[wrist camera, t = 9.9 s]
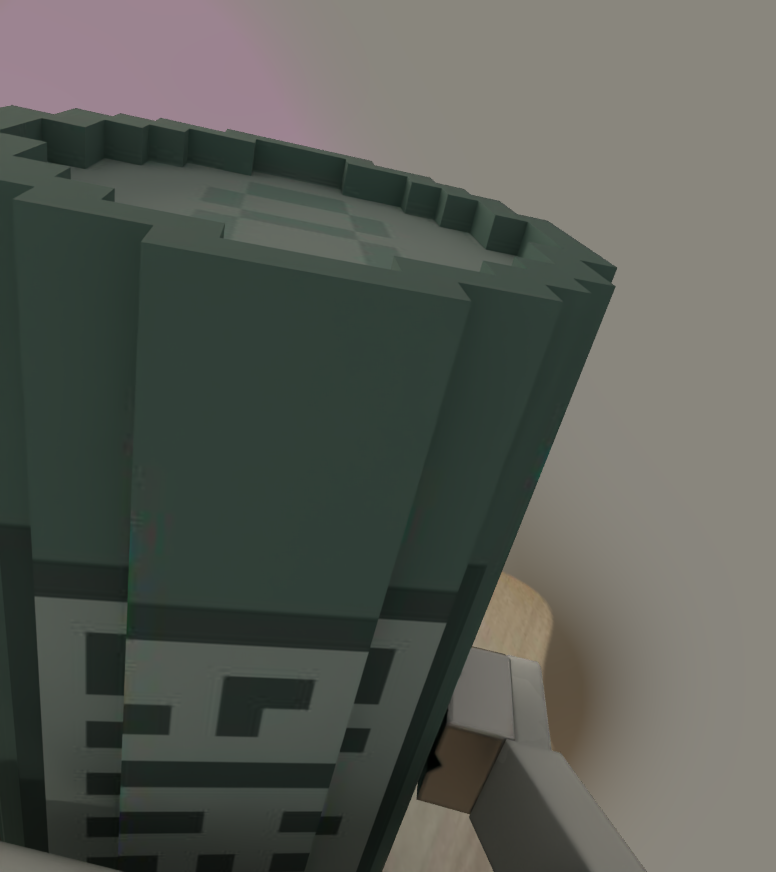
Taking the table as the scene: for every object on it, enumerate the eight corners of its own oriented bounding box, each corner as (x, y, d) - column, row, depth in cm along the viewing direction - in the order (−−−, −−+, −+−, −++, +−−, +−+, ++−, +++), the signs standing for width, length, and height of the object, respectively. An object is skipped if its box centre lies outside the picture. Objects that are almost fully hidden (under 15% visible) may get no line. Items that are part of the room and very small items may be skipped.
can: (328, 784, 17) (502, 190, 10) (345, 1108, 12) (738, 348, 5) (78, 782, 16) (67, 93, 8) (-27, 1147, 10) (-280, 165, 3)
